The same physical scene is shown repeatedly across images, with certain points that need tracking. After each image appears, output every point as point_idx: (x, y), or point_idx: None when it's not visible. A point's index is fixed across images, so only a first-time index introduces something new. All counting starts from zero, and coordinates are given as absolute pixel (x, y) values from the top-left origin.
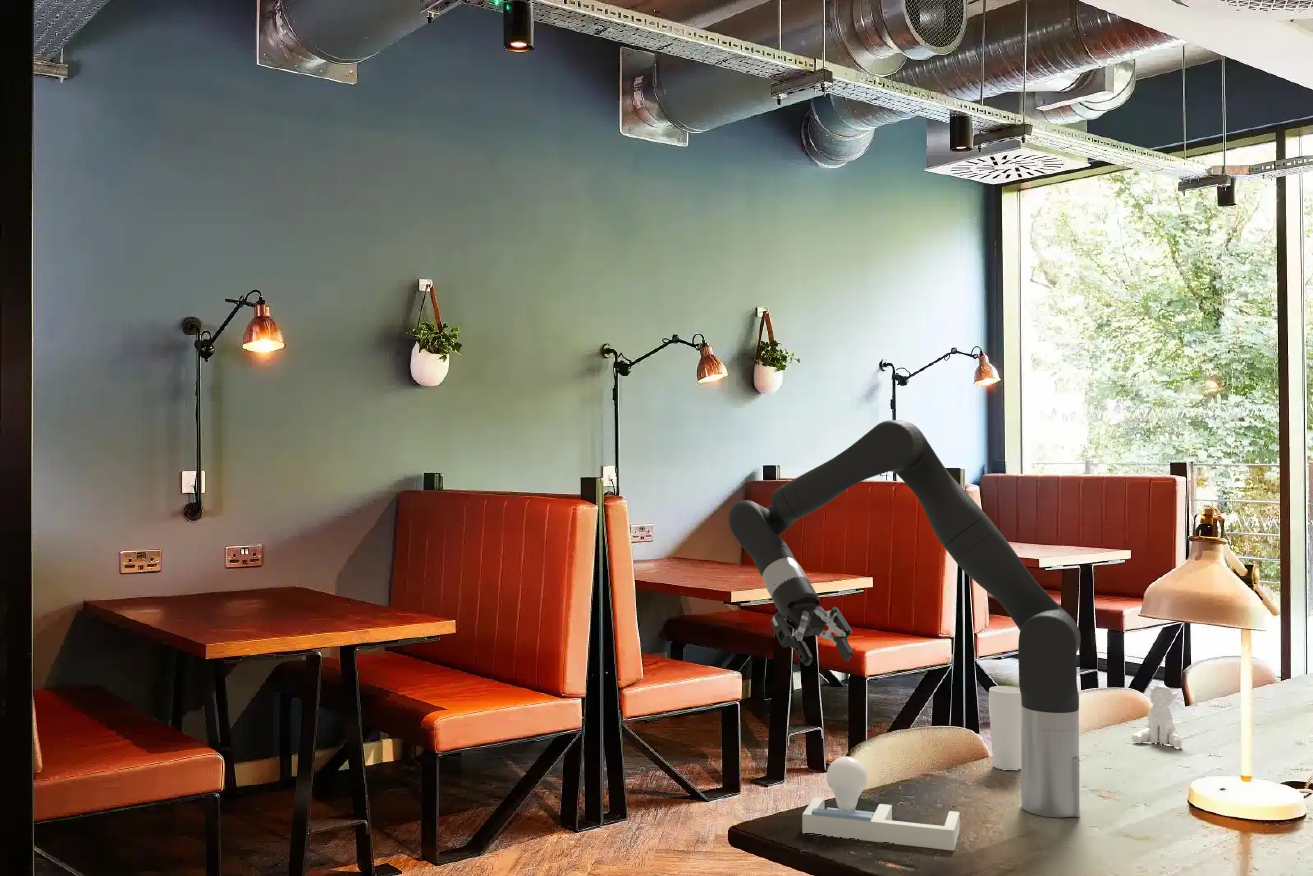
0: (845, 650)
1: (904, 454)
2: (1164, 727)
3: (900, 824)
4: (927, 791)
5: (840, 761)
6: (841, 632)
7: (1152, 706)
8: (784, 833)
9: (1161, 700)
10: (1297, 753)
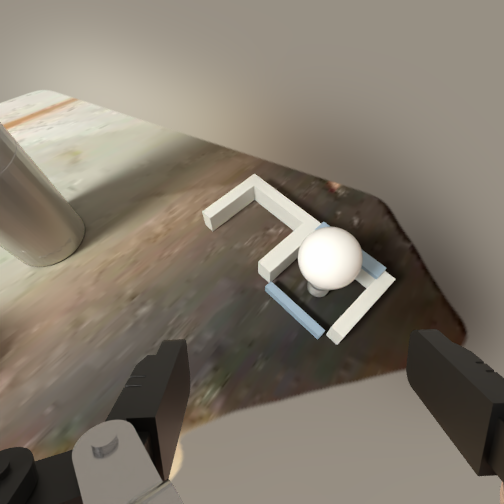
0: (179, 371)
1: None
2: None
3: (295, 205)
4: (101, 372)
5: (351, 239)
6: (105, 453)
7: None
8: (409, 299)
9: None
10: None
